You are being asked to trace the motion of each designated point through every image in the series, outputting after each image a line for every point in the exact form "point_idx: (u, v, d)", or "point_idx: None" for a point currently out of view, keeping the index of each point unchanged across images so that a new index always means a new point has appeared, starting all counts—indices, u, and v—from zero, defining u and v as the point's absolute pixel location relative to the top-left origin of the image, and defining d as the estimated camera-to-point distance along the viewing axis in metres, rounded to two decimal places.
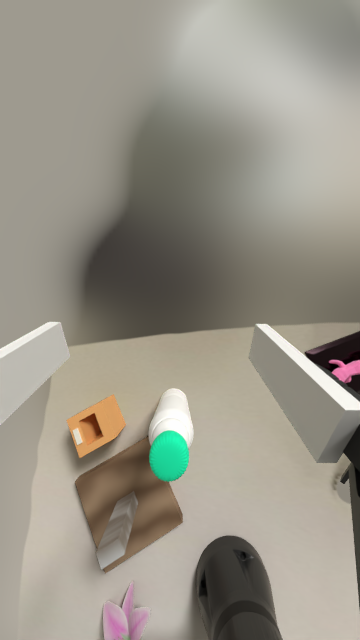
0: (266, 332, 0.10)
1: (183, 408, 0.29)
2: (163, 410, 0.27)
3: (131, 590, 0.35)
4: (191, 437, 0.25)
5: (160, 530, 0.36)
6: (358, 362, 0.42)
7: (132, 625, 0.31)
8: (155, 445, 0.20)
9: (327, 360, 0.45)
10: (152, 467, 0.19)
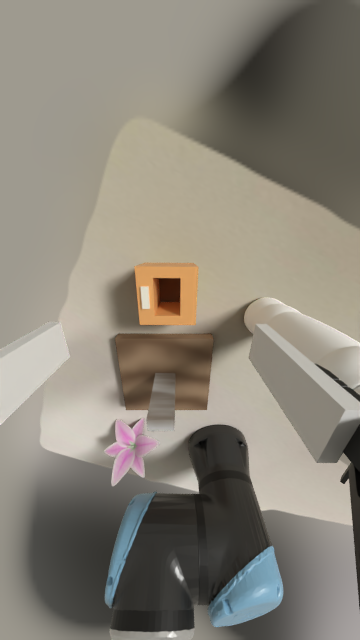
0: (266, 333, 0.10)
1: None
2: None
3: (142, 422, 0.41)
4: None
5: (185, 406, 0.37)
6: None
7: (141, 442, 0.38)
8: None
9: None
10: None
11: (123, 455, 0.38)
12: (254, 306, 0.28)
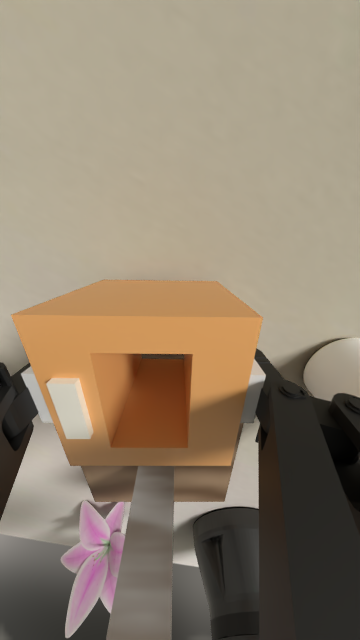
0: None
1: None
2: None
3: (121, 508, 0.27)
4: None
5: (190, 498, 0.23)
6: None
7: (117, 545, 0.24)
8: None
9: None
10: None
11: (90, 569, 0.24)
12: (337, 360, 0.14)
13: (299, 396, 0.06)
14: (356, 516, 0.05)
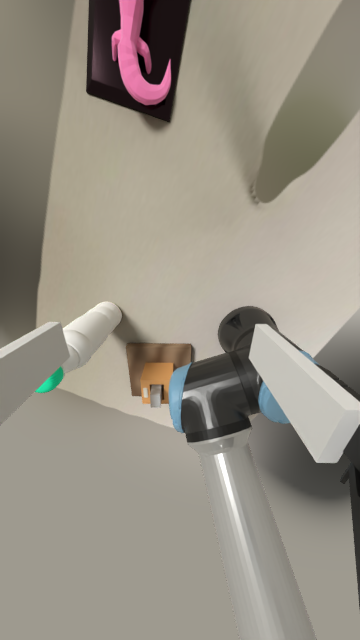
0: (266, 333, 0.10)
1: (65, 327, 0.29)
2: None
3: None
4: (70, 340, 0.26)
5: (186, 362, 0.48)
6: None
7: None
8: None
9: (109, 60, 0.27)
10: (39, 392, 0.22)
11: None
12: None
13: None
14: None
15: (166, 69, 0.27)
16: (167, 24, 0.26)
